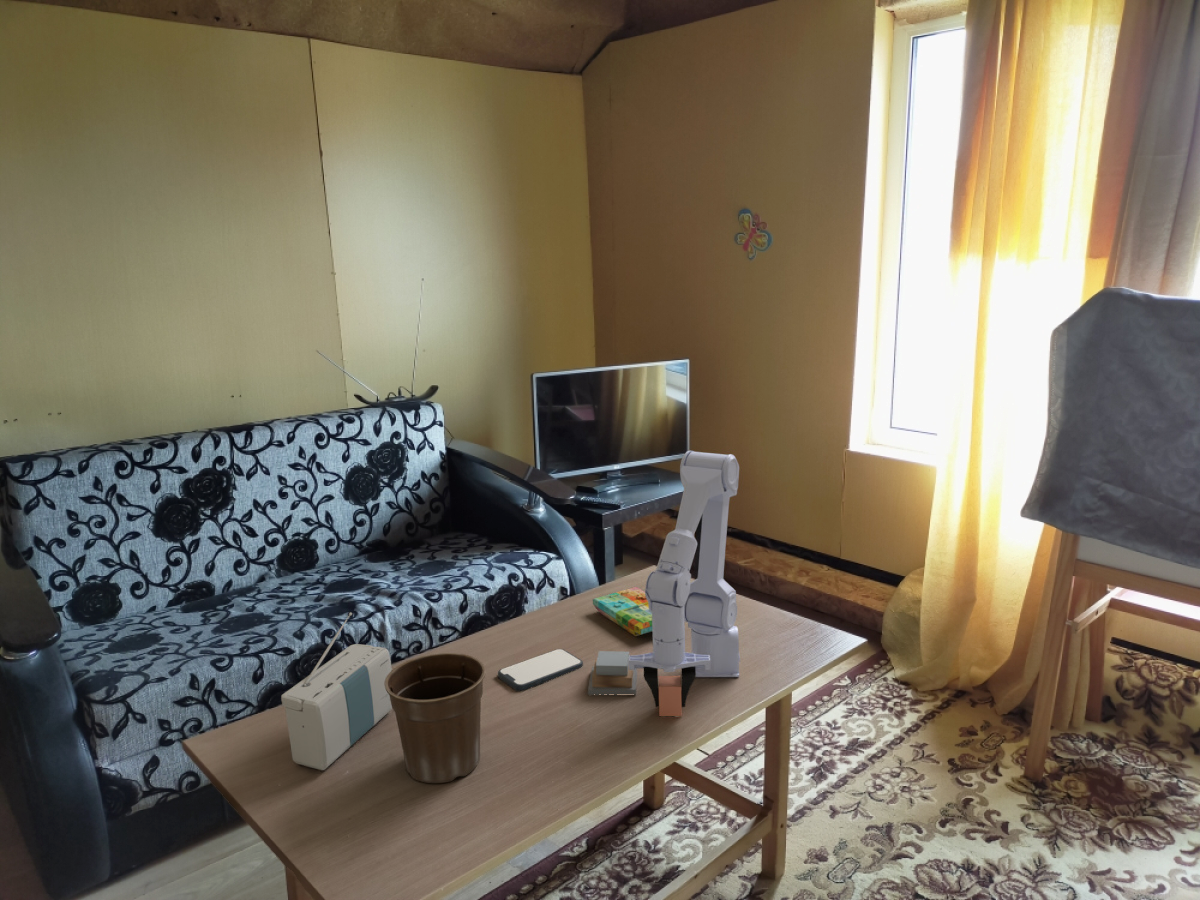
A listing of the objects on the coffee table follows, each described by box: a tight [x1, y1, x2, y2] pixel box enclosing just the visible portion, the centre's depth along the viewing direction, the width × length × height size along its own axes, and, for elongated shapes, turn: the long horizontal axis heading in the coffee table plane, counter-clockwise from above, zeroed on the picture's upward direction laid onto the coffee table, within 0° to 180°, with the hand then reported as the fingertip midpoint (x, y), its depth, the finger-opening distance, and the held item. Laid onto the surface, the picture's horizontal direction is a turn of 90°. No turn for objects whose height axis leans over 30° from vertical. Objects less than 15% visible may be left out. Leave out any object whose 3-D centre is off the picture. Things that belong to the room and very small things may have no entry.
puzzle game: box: [592, 586, 653, 637], centre depth 191 cm, size 12×5×20 cm
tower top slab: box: [596, 650, 630, 676], centre depth 163 cm, size 6×6×2 cm
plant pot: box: [384, 652, 486, 784], centre depth 139 cm, size 16×16×16 cm
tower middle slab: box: [592, 658, 633, 688], centre depth 164 cm, size 8×8×2 cm
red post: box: [658, 675, 683, 716], centre depth 153 cm, size 4×4×6 cm
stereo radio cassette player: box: [280, 612, 393, 771], centre depth 147 cm, size 21×8×20 cm, turn 160°
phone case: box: [497, 648, 584, 692], centre depth 170 cm, size 9×2×16 cm
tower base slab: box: [587, 666, 638, 696], centre depth 164 cm, size 9×9×2 cm
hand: (670, 704), depth 153 cm, fingers closed on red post, 4 cm apart
